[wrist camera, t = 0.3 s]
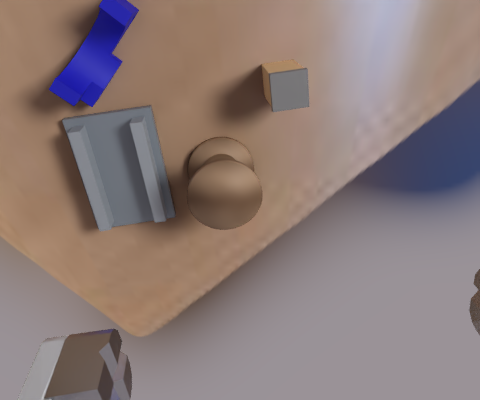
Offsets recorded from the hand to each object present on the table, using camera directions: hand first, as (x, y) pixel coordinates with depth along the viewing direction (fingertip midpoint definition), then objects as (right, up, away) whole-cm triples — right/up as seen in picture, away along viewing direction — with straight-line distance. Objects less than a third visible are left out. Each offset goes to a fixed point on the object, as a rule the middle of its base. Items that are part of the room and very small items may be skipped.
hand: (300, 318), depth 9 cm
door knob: (-4, +7, +49) cm, 49 cm away
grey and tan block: (+3, +18, +44) cm, 47 cm away
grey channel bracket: (-17, +7, +47) cm, 51 cm away
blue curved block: (-17, +21, +40) cm, 49 cm away
